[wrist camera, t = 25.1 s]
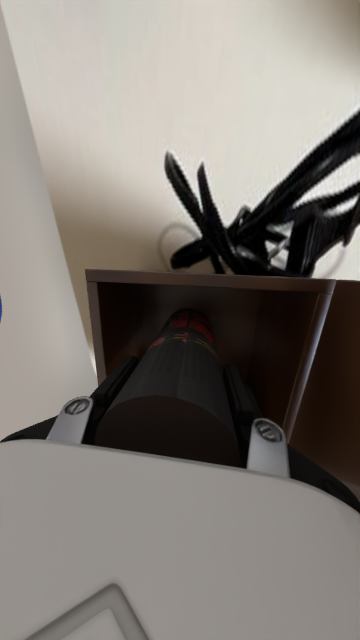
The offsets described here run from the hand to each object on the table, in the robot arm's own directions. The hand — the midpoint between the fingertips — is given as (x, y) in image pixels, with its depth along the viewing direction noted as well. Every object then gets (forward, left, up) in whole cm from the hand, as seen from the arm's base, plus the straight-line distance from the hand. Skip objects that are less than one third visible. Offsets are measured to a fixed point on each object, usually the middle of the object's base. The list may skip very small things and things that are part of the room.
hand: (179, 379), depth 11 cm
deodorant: (0, 0, -10) cm, 10 cm away
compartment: (+1, 0, -11) cm, 11 cm away
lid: (+7, 0, +8) cm, 11 cm away
